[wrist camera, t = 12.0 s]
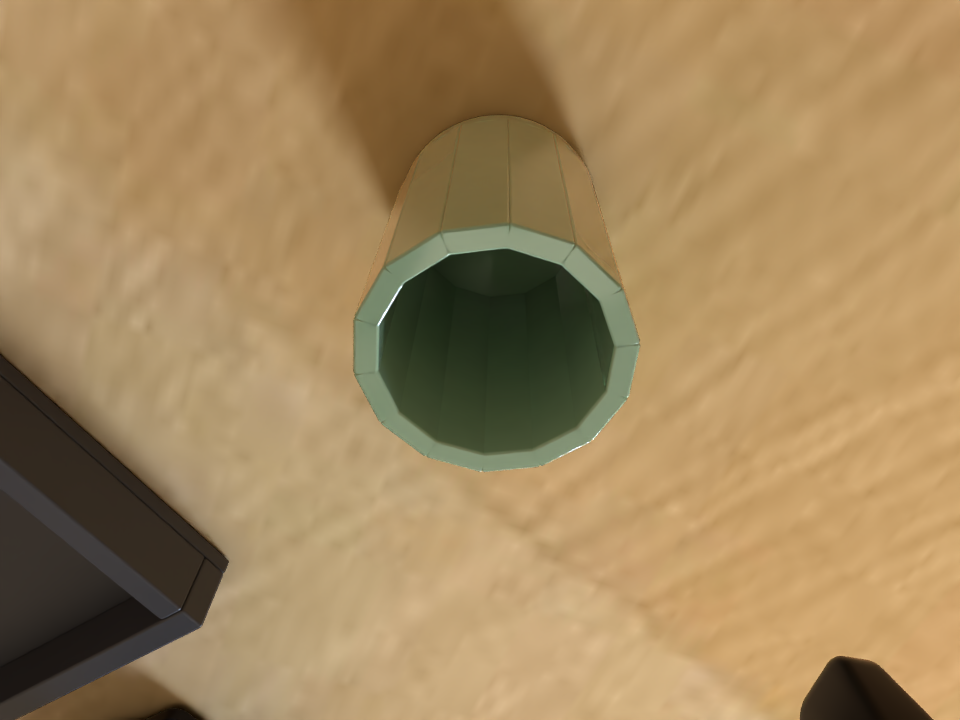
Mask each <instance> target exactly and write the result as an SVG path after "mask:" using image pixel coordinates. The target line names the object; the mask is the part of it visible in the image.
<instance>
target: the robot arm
mask: <svg viewBox="0 0 960 720" xmlns="http://www.w3.org/2000/svg"><path fill="white" fill-rule="evenodd" d="M146 720H197V719H195V718H194V717H193V716H191V715H190V714H189V713H187V712H186V711H184V710H181V709H175V708H172V709H168V710H165V711H163V712H161V713H159V714H157V715H154V716H152V717H150V718H148V719H146ZM800 720H933V719H932V718H931V717H930V716H929V715H928V714H927V713H926V712H925V711H924V710H923V709H922V708H921V707H920V706H919V705H918V704H917V703H916V702H915V701H914V700H913V699H912V698H911V697H910V696H909V695H908V694H907V693H906V692H905V691H904V690H903V689H902V688H901V687H900V686H899V685H898V684H897V683H896V682H895V681H894V680H893V679H892V678H891V677H890V676H889V675H888V674H887V673H886V672H885V671H884V670H883V669H882V668H881V667H880V666H879V665H877V664H876V663H874V662H872V661H869V660H864V659H858V658H851V657H845V656H837V657H835V658H833V659H831V660H830V661H829V662H828V663H827V665H826V666H825V668H824V670H823V671H822V673H821V674H820V676H819V677H818V679H817V680H816V682H815V683H814V685H813V687H812V688H811V690H810V691H809V693H808V694H807V696H806V697H805V699H804V701H803V704H802V707H801V712H800Z"/></svg>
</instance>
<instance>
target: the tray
mask: <svg viewBox="0 0 960 720" xmlns="http://www.w3.org/2000/svg"><path fill="white" fill-rule="evenodd" d="M228 563H229V561H228V560H227V559H226V558H225V557H224V556H223V555H222V554H220V553H219V552H218V551H217V550H216V549H215V548H214V547H213V546H212V545H210V544H209V543H208V542H207V541H206V540H205V539H204V538H203V537H202V536H200V535H199V534H198V533H197V532H196V531H195V530H194V529H193V528H192V527H190V526H189V525H188V524H187V523H186V522H185V521H184V520H183V519H182V518H180V517H179V516H178V515H177V514H176V513H175V512H174V511H173V510H172V509H171V508H169V507H168V506H167V505H166V504H165V503H164V502H163V501H162V500H161V499H159V498H158V497H157V496H156V495H155V494H154V493H153V492H152V491H151V490H149V489H148V488H147V487H146V486H145V485H144V484H143V483H142V482H141V481H139V480H138V479H137V478H136V477H135V476H134V475H133V474H132V473H131V472H129V471H128V470H127V469H126V468H125V467H124V466H123V465H122V464H121V463H119V462H118V461H117V460H116V459H115V458H114V457H113V456H112V455H111V454H110V453H108V452H107V451H106V450H105V449H104V448H103V447H102V446H101V445H100V444H98V443H97V442H96V441H95V440H94V439H93V438H92V437H91V436H90V435H88V434H87V433H86V432H85V431H84V430H83V429H82V428H81V427H80V426H78V425H77V424H76V423H75V422H74V421H73V420H72V419H71V418H70V417H68V416H67V415H66V414H65V413H64V412H63V411H62V410H61V409H60V408H58V407H57V406H56V405H55V404H54V403H53V402H52V401H51V400H50V399H49V398H47V397H46V396H45V395H44V394H43V393H42V392H41V391H40V390H39V389H37V388H36V387H35V386H34V385H33V384H32V383H31V382H30V381H29V380H27V379H26V378H25V377H24V376H23V375H22V374H21V373H20V372H19V371H17V370H16V369H15V368H14V367H13V366H12V365H11V364H10V363H9V362H7V361H6V360H5V359H4V358H3V357H2V356H1V355H0V720H16V719H18V718H20V717H22V716H24V715H26V714H28V713H30V712H32V711H34V710H36V709H38V708H40V707H42V706H44V705H46V704H48V703H50V702H52V701H54V700H56V699H58V698H60V697H62V696H64V695H66V694H68V693H70V692H72V691H74V690H76V689H78V688H80V687H82V686H84V685H86V684H88V683H90V682H92V681H94V680H96V679H98V678H100V677H102V676H104V675H106V674H108V673H110V672H112V671H114V670H116V669H118V668H120V667H122V666H124V665H126V664H128V663H130V662H132V661H134V660H136V659H138V658H140V657H142V656H144V655H146V654H148V653H150V652H152V651H154V650H156V649H158V648H160V647H162V646H164V645H166V644H168V643H170V642H172V641H174V640H176V639H179V638H181V637H183V636H185V635H187V634H189V633H191V632H193V631H195V630H197V629H199V628H200V627H201V626H202V625H203V622H204V620H205V618H206V615H207V613H208V610H209V608H210V606H211V603H212V601H213V598H214V596H215V593H216V591H217V589H218V586H219V584H220V581H221V579H222V577H223V573H224V572H225V570H226V568H227V566H228Z"/></svg>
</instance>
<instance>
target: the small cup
mask: <svg viewBox="0 0 960 720" xmlns="http://www.w3.org/2000/svg"><path fill="white" fill-rule="evenodd" d="M639 349H640V339H639V335H638V332H637V329H636V325H635V322H634V319H633V315H632V312H631V309H630V305H629V302H628V299H627V296H626V292H625V289H624V286H623V282H622V279H621V276H620V272H619V269H618V266H617V262H616V259H615V256H614V253H613V249H612V246H611V243H610V239H609V236H608V233H607V229H606V226H605V223H604V219H603V216H602V213H601V210H600V206H599V203H598V200H597V197H596V194H595V190H594V187H593V184H592V181H591V178H590V174H589V171H588V169H587V168H586V165H585V164H584V163H583V161H582V160H581V158H580V157H579V155H578V154H577V153H576V151H575V150H574V149H573V148H572V147H571V146H570V145H569V144H568V143H567V141H565V140H564V139H563V138H562V137H560V136H559V135H558V134H557V133H555V132H554V131H552V130H550V129H549V128H547V127H545V126H543V125H541V124H539V123H536V122H534V121H531V120H528V119H524V118H521V117H515V116H508V115H489V116H481V117H476V118H473V119H469V120H465V121H463V122H460V123H458V124H456V125H453V126H452V127H450V128H448V129H446V130H445V131H443V132H441V133H440V134H439V135H438V136H436V137H435V138H434V139H432V140H431V141H430V142H429V143H428V144H427V145H426V146H425V147H424V148H423V150H422V151H421V152H420V154H419V155H418V156H417V158H416V159H415V161H414V162H413V164H412V166H411V168H410V170H409V172H408V174H407V177H406V179H405V181H404V182H403V184H402V186H401V188H400V190H399V193H398V196H397V198H396V201H395V204H394V207H393V210H392V212H391V215H390V218H389V221H388V224H387V226H386V229H385V232H384V235H383V238H382V240H381V243H380V246H379V249H378V252H377V254H376V257H375V260H374V263H373V266H372V268H371V271H370V274H369V277H368V280H367V282H366V285H365V288H364V291H363V293H362V296H361V299H360V302H359V305H358V307H357V310H356V313H355V317H354V320H353V371H354V373H355V377H356V379H357V381H358V383H359V385H360V387H361V388H362V390H363V392H364V394H365V396H366V398H367V400H368V401H369V403H370V405H371V407H372V409H373V411H374V413H375V414H376V416H377V418H378V420H379V421H380V422H381V423H382V425H384V426H385V427H386V428H388V429H389V430H390V431H392V432H393V433H394V434H396V435H397V436H398V437H400V438H401V439H402V440H404V441H405V442H406V443H408V444H409V445H410V446H412V447H413V448H414V449H416V450H417V451H418V452H420V453H421V454H422V455H424V456H427V457H428V458H431V459H435V460H439V461H442V462H446V463H450V464H453V465H457V466H461V467H465V468H468V469H472V470H476V471H483V472H489V471H500V470H511V469H522V468H533V467H539V466H540V465H541V466H543V465H545V464H547V463H549V462H551V461H553V460H555V459H557V458H559V457H561V456H563V455H565V454H567V453H569V452H571V451H573V450H575V449H577V448H579V447H582V446H584V445H586V444H588V443H590V442H591V440H593V439H594V438H595V437H596V436H597V435H598V434H599V433H600V431H601V430H602V429H603V428H604V427H605V425H606V424H607V423H608V422H609V421H610V419H611V418H612V417H613V416H614V415H615V413H616V412H617V411H618V410H619V409H620V407H621V406H622V405H623V404H624V403H625V401H626V400H627V397H628V396H629V394H630V390H631V385H632V380H633V376H634V371H635V367H636V362H637V358H638V353H639Z"/></svg>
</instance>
